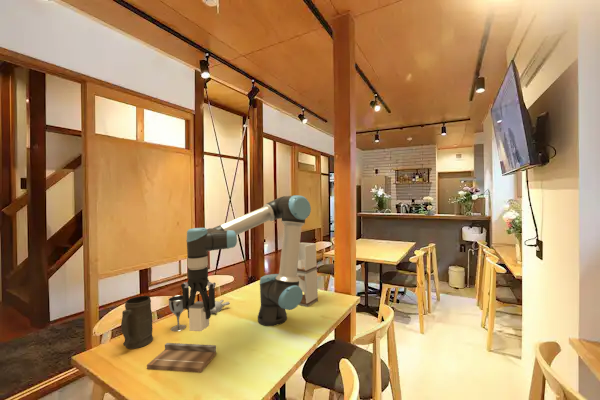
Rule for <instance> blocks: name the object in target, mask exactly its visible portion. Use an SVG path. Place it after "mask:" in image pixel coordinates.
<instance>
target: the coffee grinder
mask: <svg viewBox="0 0 600 400" xmlns="http://www.w3.org/2000/svg"><path fill="white" fill-rule="evenodd" d="M317 262H318V261H317V244H316V243H314V242H300V247H299V257H298V267H297V277H298V279H299V287H300V288H301V290H302V292H303V297H302V300H301V302H300V304H299V305H298V306H301V307H306V308H308V307H310V306H312V305H314V304H315V303H317V302H319V297H318V295H319V294H318V269H317V268H318V267H317V265H318V264H317Z"/></svg>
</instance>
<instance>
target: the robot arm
mask: <svg viewBox="0 0 600 400" xmlns="http://www.w3.org/2000/svg"><path fill="white" fill-rule="evenodd" d="M311 212H312V207H311V203H310V202H309V200H308V199H307V198H306V197H305V196H304V195H295V194H294V195H285V196H284V195H283V196H280V197H278V198H276V199H274V200H272V201H269V202H266V203H264V204H263V206H262V207H260V208H258V209H255V210H253V211H250V212H247V213H246V214H243V215H240V216H239V217H236V218H233V219H231V220H228V221H227V222H224V223H222V224H220V225H217V226H215V227H211V228H206V227H193V228H188V230H187V231H186V252H187V258H186V261H187V265H186V266H187V268H188V269H187V281H186V282H183V283H181V285H180V287H181V290H182V295H183V309H184V310H186V311H187V318H188V319H189V307H190V306H191V305H193V304H194V303H195V302H196V295H197V292H198V293H199V295H200V297H201V300H202V302H203V304H204V308H205V311H204V312H203V319H204V330H205V329H207V328H208V327H209V326H210V318H211V316H212V315H211V312H210V310H212V309H213V308H214V307H215V301H216V297H215V296H216V295H215V293H216V292H215V291H216V290H215V288H216V282H211V281H210V280H209V267H208V266H209V262H208V258H209V257H208V254H209V253H208V252H209V251H210V252H211V251H219V250H226V249H227V250H228V249H233V248H235V247H236V246H237V243H238V237H237V236H238V235H240V234H242V233H245V232H246V231H250V230H251V229H253V228H255V227H258V226H260V225H261V224H264V223H267V222H269V221H270V222H273V221H276V220H278V219H281V222H282V224H283V225H284V226H283V234H282V242H281V253H280V262H279V271H278V273H271V274H266V275H265V274H264V275H263V276H261V277H260V278H259V279H260V280H259V292H260V293H259V294H260V297H259V298H260V307H259V310H258V315H257V322H258V324H260V325H262V326H265V327H274V326H279V325H282V324H284V323H285V322H286V321H287V320H288V313H287V311H290V310H291V311H292V310H294V309H296V308H297V307H298V306H300V305H299V304H300V302H301V300H302V297H303V294H304V292H302V290H301V288H300V287H299V279H298V275H297V267H298V257H299V247H300V243H301V234H302V227H303V226H304V225H305V223H306V219H308V218H309V216H310V215H311ZM207 287H208V289H207ZM189 289H190V290H189ZM286 310H287V311H286Z"/></svg>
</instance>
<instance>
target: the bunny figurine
mask: <svg viewBox="0 0 600 400" xmlns="http://www.w3.org/2000/svg"><path fill="white" fill-rule="evenodd" d="M230 304H231V303H230V301H225V302H224V299H221V300H215V307H214V308H213V309H212V310H210V312H211V316H212V315H213V314H217V313H219V312H221V311H222V309H223V308H224V306H225V307H226V306H229V305H230Z"/></svg>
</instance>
